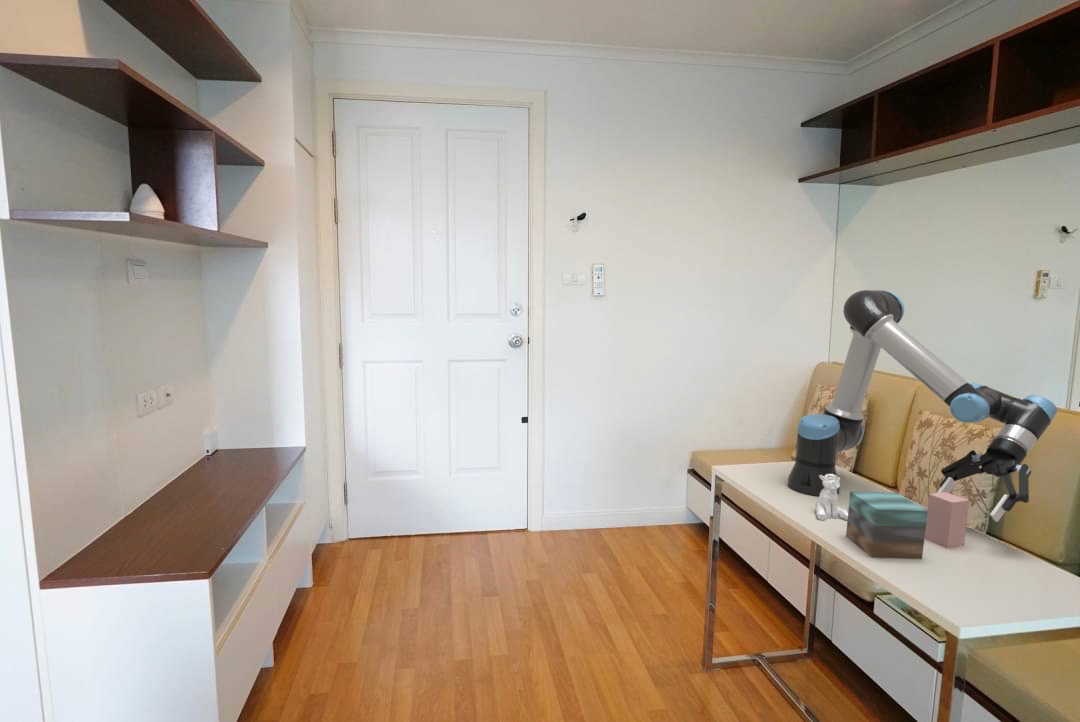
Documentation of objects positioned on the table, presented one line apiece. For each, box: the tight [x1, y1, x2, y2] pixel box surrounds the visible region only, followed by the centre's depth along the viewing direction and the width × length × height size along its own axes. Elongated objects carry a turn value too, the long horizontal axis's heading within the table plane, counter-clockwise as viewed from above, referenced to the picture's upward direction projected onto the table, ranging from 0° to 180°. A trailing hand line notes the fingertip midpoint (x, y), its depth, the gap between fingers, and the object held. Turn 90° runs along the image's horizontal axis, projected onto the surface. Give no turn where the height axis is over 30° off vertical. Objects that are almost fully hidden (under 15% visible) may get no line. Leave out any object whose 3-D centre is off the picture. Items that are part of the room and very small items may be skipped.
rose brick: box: [924, 492, 970, 549], centre depth 147 cm, size 6×6×12 cm
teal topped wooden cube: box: [845, 491, 928, 560], centre depth 143 cm, size 12×12×12 cm
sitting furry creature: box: [815, 474, 848, 521], centre depth 163 cm, size 10×9×12 cm
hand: (964, 508), depth 146 cm, fingers open, 13 cm apart
